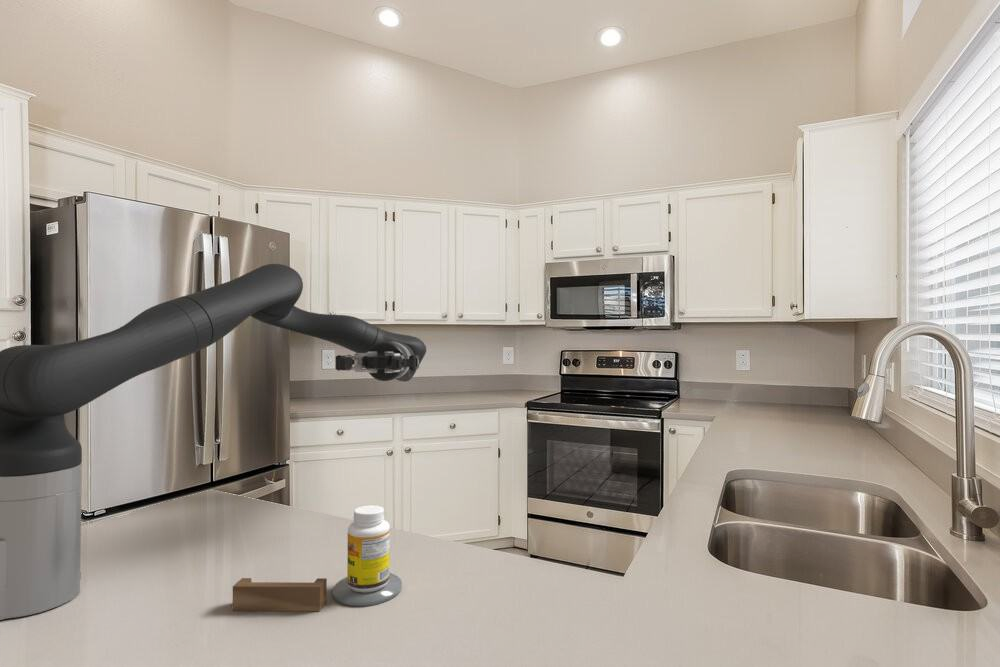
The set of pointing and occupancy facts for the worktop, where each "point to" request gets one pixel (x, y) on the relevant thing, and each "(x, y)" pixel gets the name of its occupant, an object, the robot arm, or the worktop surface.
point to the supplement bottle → (368, 550)
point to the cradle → (279, 595)
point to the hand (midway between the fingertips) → (368, 363)
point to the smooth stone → (366, 599)
